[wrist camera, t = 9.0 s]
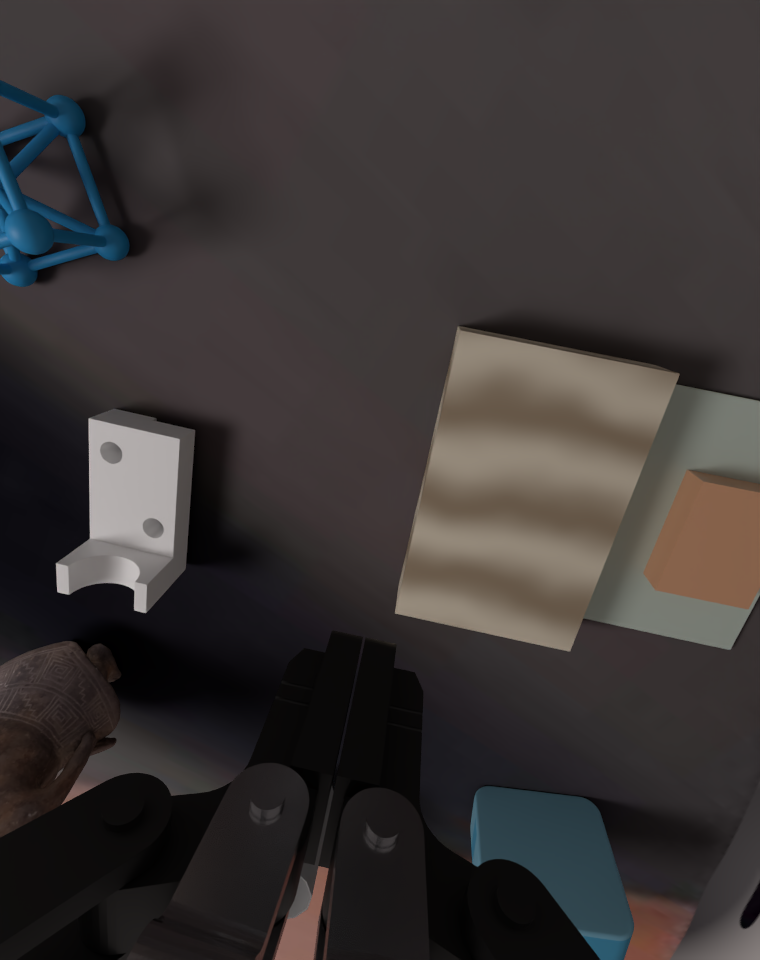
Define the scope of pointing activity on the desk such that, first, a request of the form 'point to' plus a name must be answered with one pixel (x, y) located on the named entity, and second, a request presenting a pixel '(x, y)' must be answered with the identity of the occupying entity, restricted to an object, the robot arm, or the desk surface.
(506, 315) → the desk surface
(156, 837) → the robot arm
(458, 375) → the light wood flat block
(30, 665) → the clay figurine
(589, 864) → the data package
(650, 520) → the mat
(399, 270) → the desk surface
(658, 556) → the tile
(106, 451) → the bracket
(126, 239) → the molecular structure
